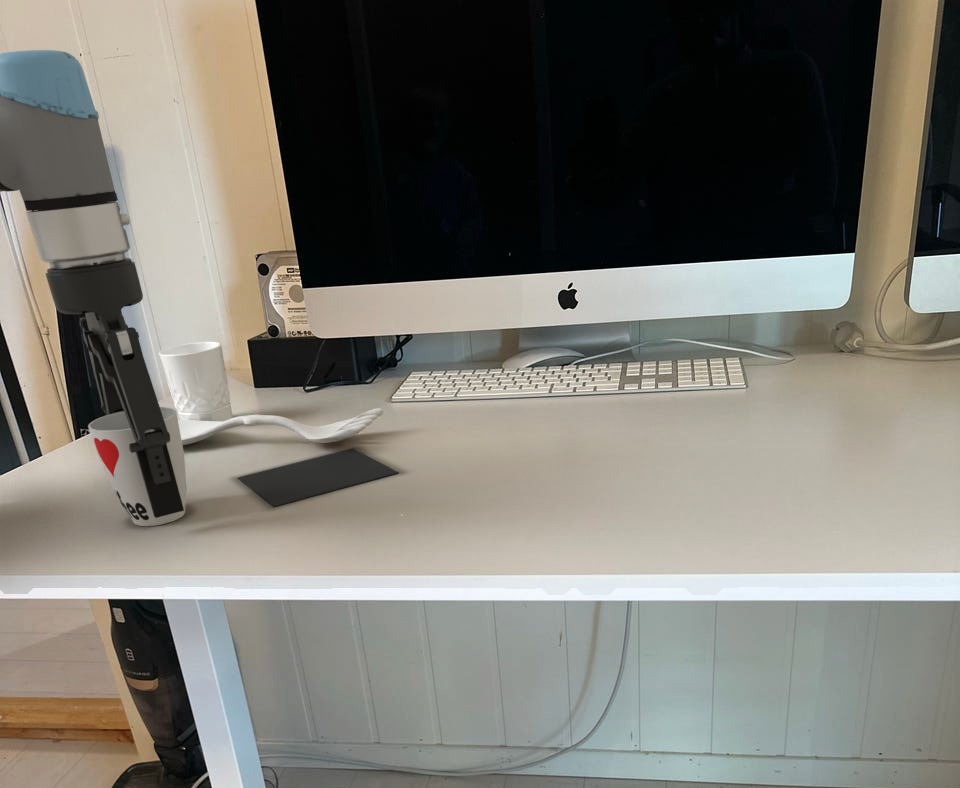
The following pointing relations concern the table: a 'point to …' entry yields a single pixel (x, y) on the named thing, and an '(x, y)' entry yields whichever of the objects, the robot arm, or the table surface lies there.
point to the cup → (136, 464)
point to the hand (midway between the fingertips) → (154, 498)
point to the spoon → (322, 434)
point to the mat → (315, 476)
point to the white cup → (197, 381)
